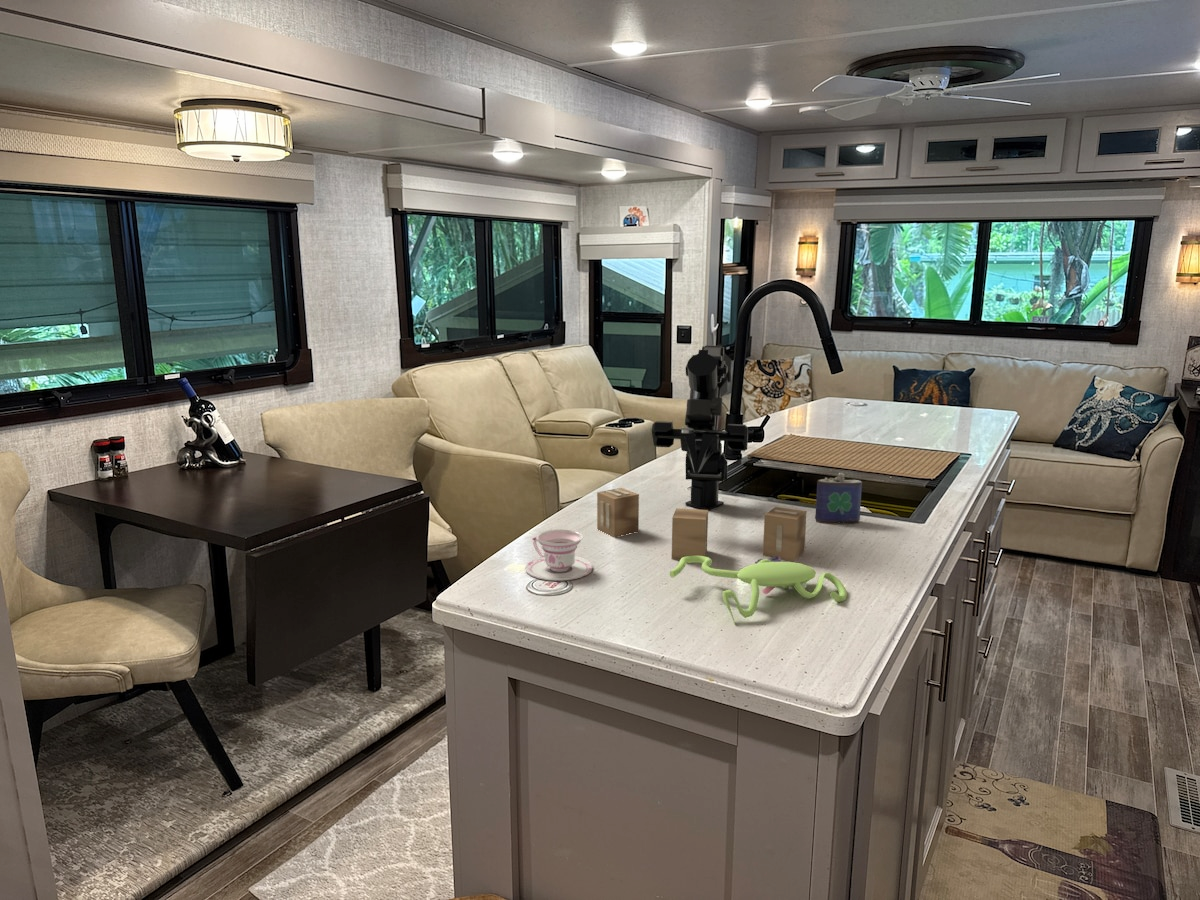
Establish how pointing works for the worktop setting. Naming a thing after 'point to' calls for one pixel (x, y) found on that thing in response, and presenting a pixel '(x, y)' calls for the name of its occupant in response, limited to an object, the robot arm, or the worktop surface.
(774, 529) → the striped block
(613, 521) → the striped block
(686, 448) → the robot arm
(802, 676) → the worktop surface
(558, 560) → the teacup
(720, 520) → the worktop surface
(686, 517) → the plain block
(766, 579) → the figurine
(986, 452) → the worktop surface
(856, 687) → the worktop surface
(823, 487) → the flask
